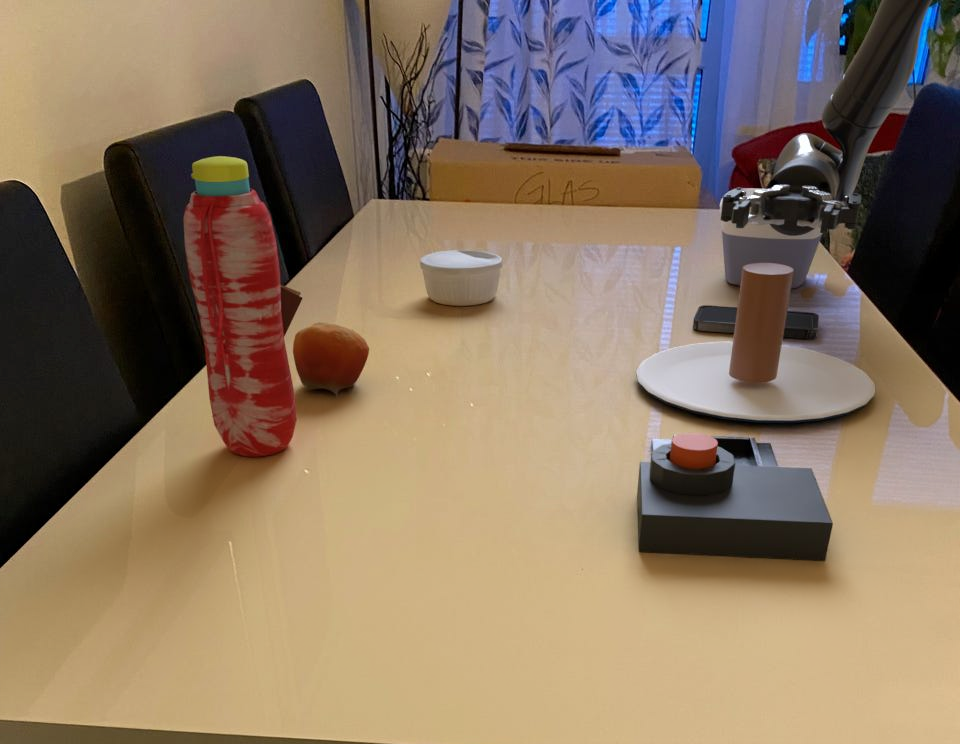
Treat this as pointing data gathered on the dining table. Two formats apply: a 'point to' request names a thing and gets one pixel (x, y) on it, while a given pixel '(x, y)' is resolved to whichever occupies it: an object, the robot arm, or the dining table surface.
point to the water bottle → (240, 308)
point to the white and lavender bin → (766, 248)
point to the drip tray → (739, 450)
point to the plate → (755, 385)
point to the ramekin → (461, 276)
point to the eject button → (693, 450)
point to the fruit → (329, 356)
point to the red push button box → (730, 509)
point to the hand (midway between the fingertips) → (782, 220)
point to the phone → (726, 319)
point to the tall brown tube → (760, 321)
